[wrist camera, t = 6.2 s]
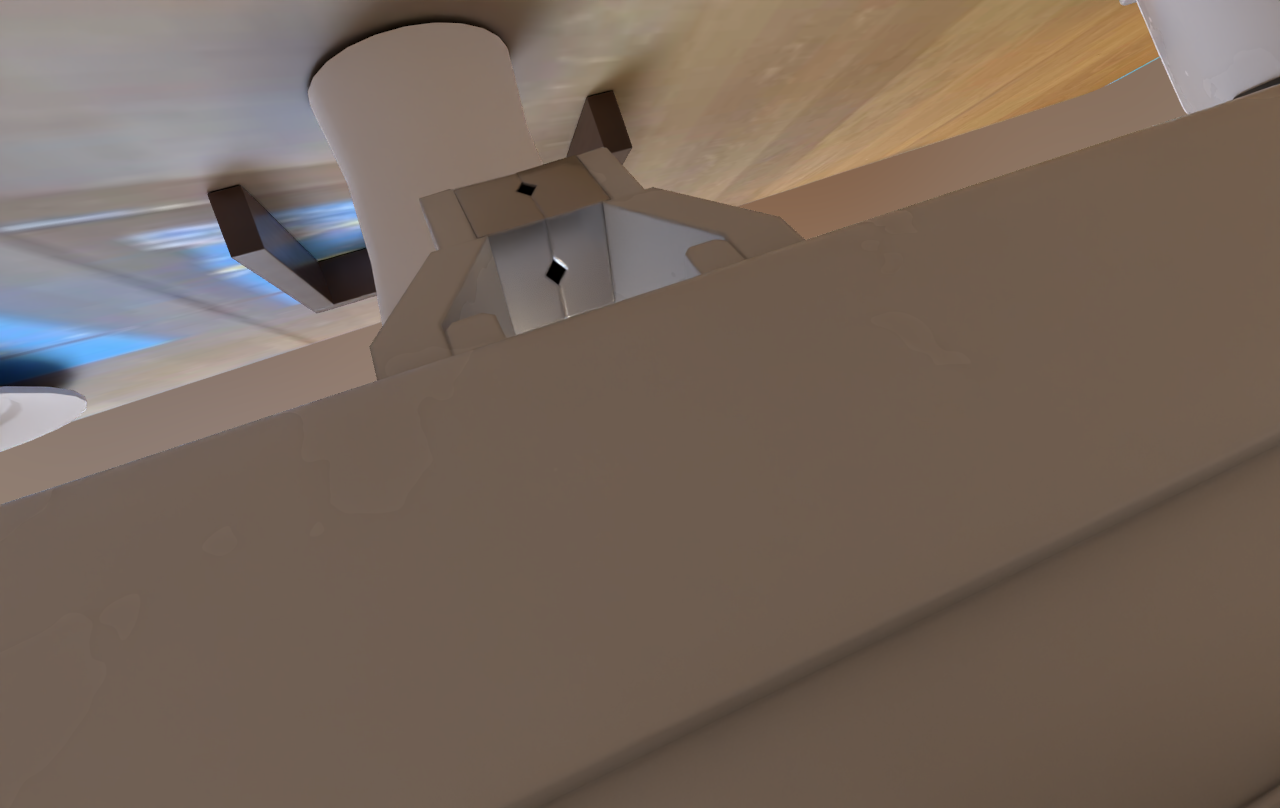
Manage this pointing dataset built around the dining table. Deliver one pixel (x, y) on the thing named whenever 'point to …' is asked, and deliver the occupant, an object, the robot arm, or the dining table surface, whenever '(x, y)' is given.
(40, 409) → the plated food
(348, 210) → the dining table surface
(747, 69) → the dining table surface
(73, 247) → the dining table surface
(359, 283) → the dark brown flat frame
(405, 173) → the cup
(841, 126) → the dining table surface
